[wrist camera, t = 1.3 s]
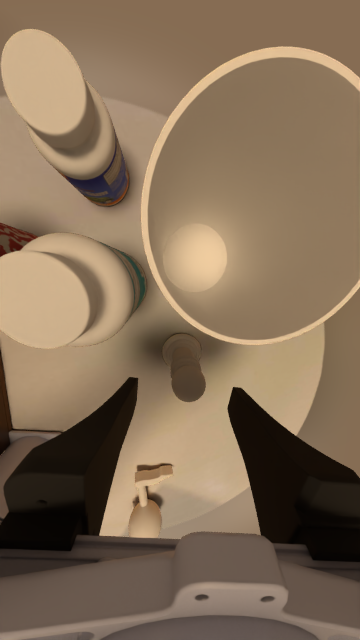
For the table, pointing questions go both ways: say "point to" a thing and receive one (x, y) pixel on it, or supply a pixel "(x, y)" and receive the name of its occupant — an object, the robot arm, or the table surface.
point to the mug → (13, 239)
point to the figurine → (147, 504)
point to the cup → (258, 197)
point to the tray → (4, 413)
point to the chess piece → (184, 366)
